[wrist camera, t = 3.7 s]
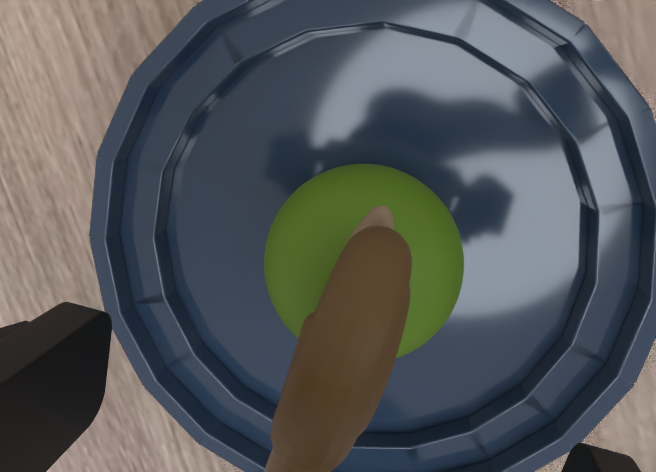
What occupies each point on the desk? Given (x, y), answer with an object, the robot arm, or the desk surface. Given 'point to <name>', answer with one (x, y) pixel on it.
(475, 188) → the plate
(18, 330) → the robot arm
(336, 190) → the snail figurine
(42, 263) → the desk surface
